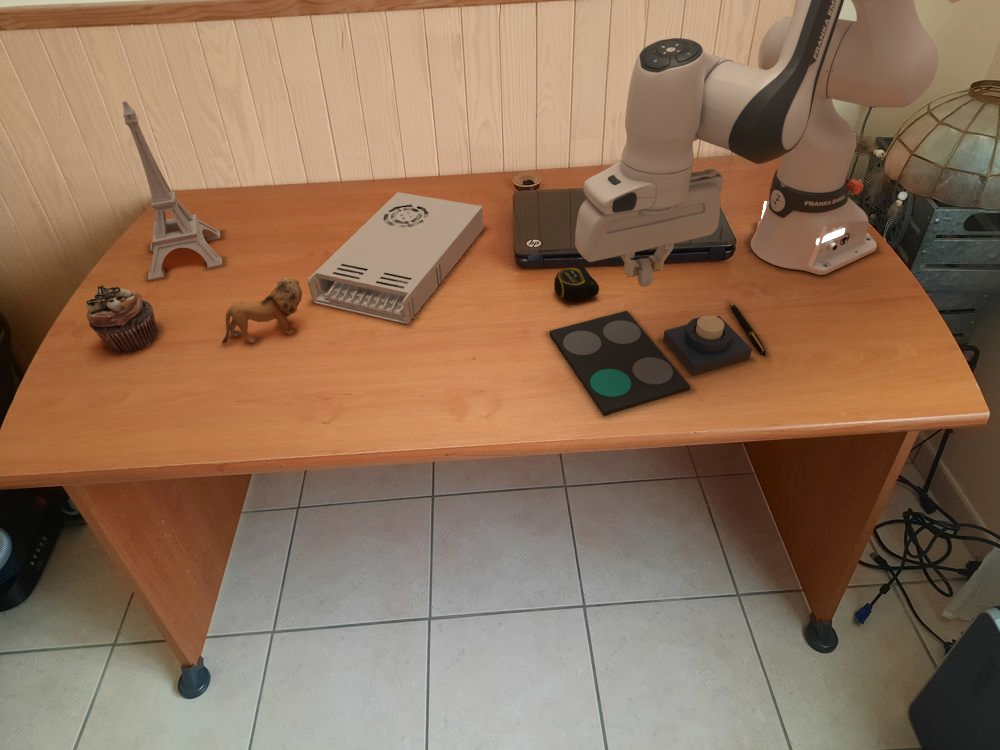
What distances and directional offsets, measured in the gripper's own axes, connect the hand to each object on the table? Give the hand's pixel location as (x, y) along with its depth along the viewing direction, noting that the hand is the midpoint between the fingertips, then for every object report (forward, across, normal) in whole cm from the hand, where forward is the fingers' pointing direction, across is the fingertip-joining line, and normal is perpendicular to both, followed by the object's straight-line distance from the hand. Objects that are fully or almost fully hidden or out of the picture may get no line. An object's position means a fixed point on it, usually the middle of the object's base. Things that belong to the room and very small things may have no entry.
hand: (642, 271), depth 98 cm
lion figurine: (+16, +53, -29) cm, 63 cm away
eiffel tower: (+16, +66, -60) cm, 91 cm away
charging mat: (+16, +3, 0) cm, 16 cm away
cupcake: (+17, +75, -36) cm, 85 cm away
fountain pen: (+16, -20, +1) cm, 26 cm away
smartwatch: (+2, 0, 0) cm, 2 cm away
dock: (+16, -11, +3) cm, 20 cm away
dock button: (+12, -11, +3) cm, 17 cm away
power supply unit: (+16, +27, -40) cm, 51 cm away
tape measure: (+16, +1, -19) cm, 25 cm away
